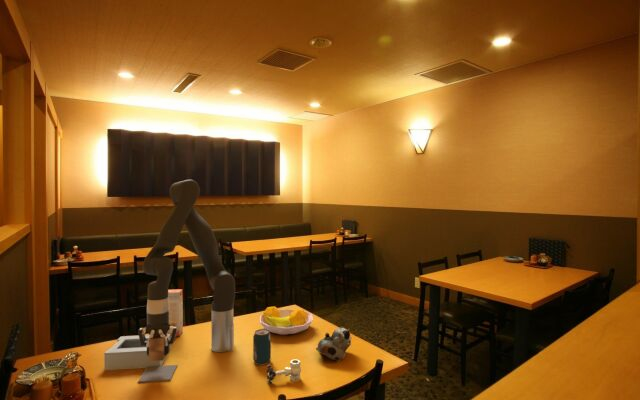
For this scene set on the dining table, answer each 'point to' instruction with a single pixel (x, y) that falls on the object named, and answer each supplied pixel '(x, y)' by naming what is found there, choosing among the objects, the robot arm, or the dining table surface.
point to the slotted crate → (129, 354)
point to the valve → (286, 371)
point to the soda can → (261, 346)
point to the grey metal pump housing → (335, 344)
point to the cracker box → (175, 310)
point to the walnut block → (156, 349)
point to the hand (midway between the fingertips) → (158, 355)
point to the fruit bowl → (285, 320)
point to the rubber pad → (158, 373)
